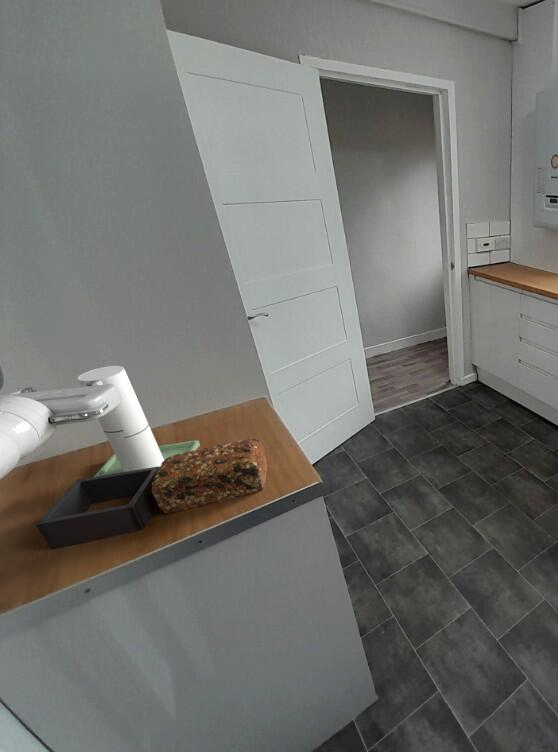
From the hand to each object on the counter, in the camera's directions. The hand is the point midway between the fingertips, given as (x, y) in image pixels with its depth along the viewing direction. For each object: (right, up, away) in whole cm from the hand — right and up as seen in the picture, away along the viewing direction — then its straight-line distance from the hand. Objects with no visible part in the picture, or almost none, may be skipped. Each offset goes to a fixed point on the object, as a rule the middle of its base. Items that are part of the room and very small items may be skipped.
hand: (65, 387), depth 74 cm
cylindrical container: (-5, -20, +22) cm, 30 cm away
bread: (+17, -24, +16) cm, 33 cm away
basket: (+1, -27, +9) cm, 28 cm away
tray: (-5, -21, +22) cm, 31 cm away
